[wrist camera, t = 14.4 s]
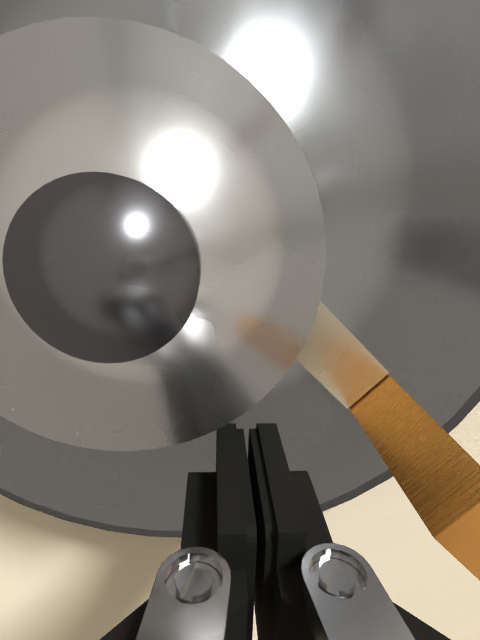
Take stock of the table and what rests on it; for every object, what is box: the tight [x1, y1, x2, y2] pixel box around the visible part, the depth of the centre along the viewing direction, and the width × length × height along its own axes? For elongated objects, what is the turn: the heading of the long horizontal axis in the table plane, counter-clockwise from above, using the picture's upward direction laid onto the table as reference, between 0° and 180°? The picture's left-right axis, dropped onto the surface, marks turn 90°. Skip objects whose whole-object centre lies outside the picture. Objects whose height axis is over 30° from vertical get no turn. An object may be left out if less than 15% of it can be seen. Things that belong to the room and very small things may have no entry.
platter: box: [0, 0, 480, 580], centre depth 9 cm, size 20×20×6 cm
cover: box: [0, 16, 326, 451], centre depth 8 cm, size 7×7×5 cm
